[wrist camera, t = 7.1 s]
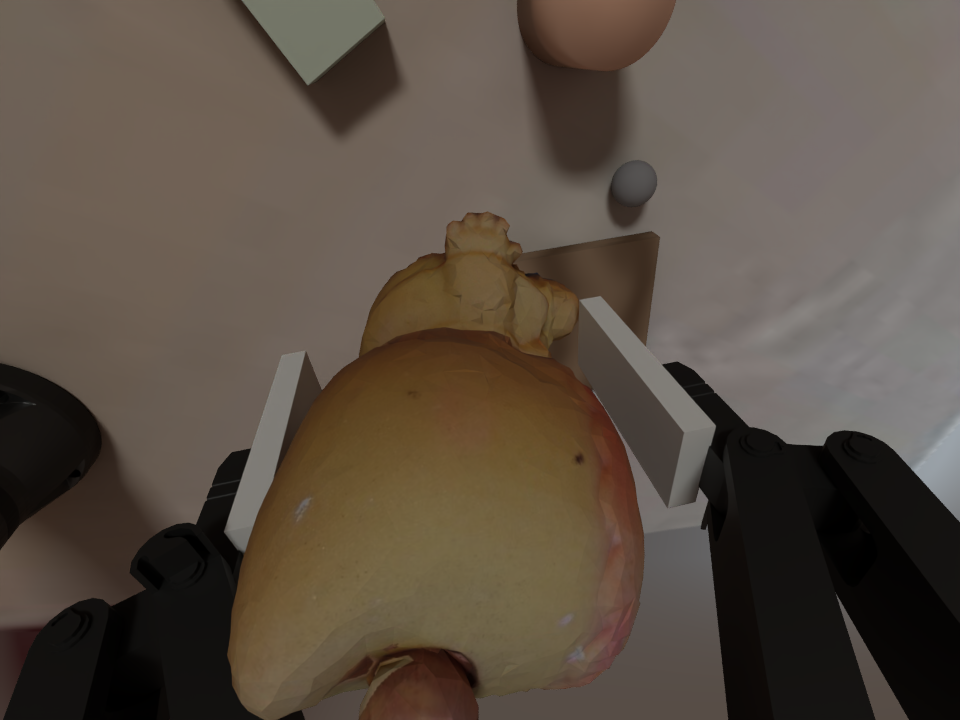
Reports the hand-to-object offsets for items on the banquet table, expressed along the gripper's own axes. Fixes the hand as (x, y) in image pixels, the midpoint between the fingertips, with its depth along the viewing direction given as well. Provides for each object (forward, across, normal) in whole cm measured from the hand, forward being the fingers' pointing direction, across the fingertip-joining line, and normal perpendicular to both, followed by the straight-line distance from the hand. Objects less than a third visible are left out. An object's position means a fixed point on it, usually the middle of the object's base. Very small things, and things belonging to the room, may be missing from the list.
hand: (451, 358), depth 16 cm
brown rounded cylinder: (+24, +12, +10) cm, 29 cm away
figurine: (+3, 0, 0) cm, 3 cm away
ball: (+24, +18, -2) cm, 30 cm away
